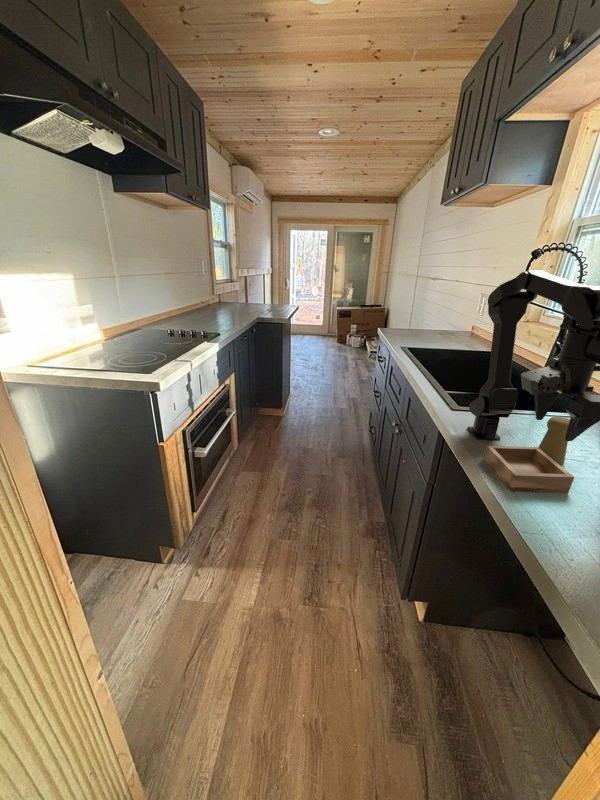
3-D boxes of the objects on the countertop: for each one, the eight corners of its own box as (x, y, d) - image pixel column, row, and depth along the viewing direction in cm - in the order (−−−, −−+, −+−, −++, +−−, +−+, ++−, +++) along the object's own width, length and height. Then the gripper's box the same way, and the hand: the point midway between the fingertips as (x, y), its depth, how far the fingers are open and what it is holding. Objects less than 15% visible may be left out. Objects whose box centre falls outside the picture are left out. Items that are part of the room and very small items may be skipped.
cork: (535, 449, 85) (548, 411, 81) (564, 457, 82) (579, 418, 77) (533, 459, 81) (546, 419, 77) (563, 468, 77) (579, 427, 73)
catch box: (483, 459, 80) (486, 445, 79) (533, 461, 80) (537, 447, 78) (510, 491, 69) (515, 475, 68) (568, 492, 69) (574, 477, 67)
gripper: (508, 344, 71) (491, 409, 77) (569, 371, 53) (540, 452, 60) (561, 345, 70) (539, 411, 76) (640, 372, 53) (604, 454, 59)
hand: (552, 429), depth 68 cm, fingers open, 9 cm apart
